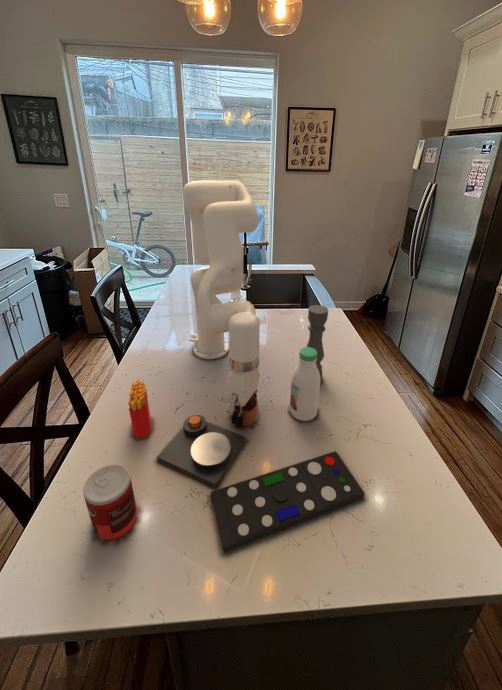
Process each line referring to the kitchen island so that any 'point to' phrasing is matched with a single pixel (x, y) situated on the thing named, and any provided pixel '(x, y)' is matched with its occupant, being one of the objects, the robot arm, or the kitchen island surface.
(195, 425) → the tare button
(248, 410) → the bowl
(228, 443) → the scale pan
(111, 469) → the canned food
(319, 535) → the kitchen island surface
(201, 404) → the kitchen island surface
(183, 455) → the scale
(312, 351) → the milk bottle
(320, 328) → the pepper mill
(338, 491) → the remote control
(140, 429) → the french fries
